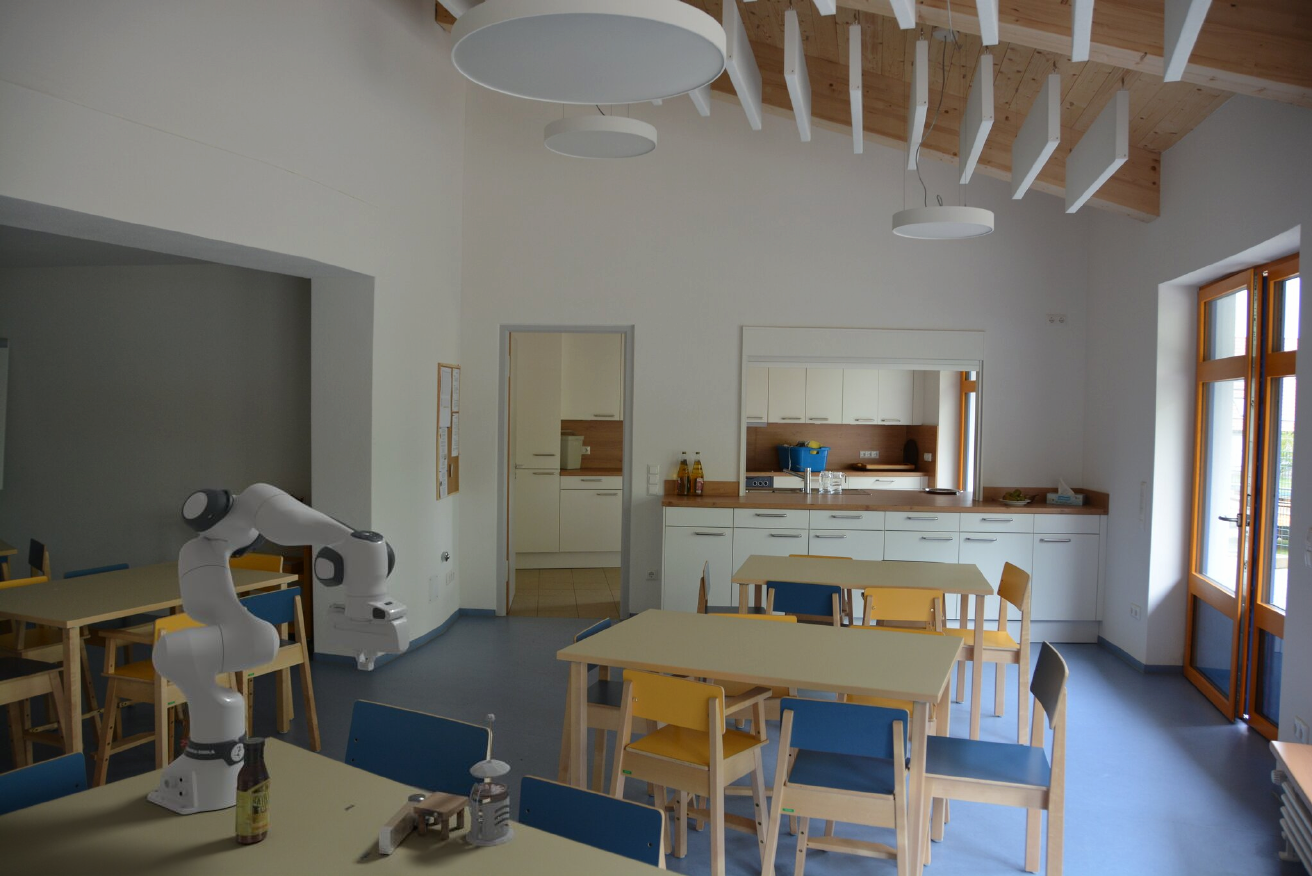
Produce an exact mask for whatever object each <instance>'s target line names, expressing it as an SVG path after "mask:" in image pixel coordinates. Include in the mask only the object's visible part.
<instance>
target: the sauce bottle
mask: <svg viewBox="0 0 1312 876" xmlns="http://www.w3.org/2000/svg"><path fill="white" fill-rule="evenodd" d="M265 746H266V739H265V738H263V737H259V736H258V737H257V736H256V737H249V738H248V739H246V740H244V742H243V748H244V760H243V762H244V764H243V766H242V768H241V770H240V771H239V773H238V776H237V788H236V805H235V824H234V825H235V826H234V827H235V828H234V832H235V840H236V841H237V842H238V843H240V844H246V845H247V844H253V843H254V844H255V843H258V842H261V841H262V840H264V839H266V837H267V835H268V833H269V828H270V797H271V796H270V789H271V787H270V785H271V777H270V775H269V772H268V771H269V770H268V768H267V766H266V764H265V763H266V762H265V757H264V755H265Z"/></svg>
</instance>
